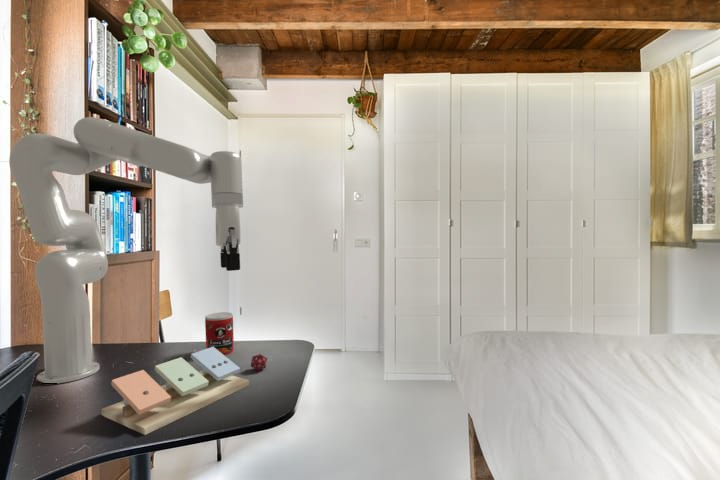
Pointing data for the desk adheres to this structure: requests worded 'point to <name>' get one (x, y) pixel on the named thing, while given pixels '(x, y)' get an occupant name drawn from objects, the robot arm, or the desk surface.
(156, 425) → the board
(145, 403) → the tile
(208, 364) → the tile
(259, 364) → the dice
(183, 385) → the tile
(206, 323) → the canned food
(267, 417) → the desk surface
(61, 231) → the robot arm
